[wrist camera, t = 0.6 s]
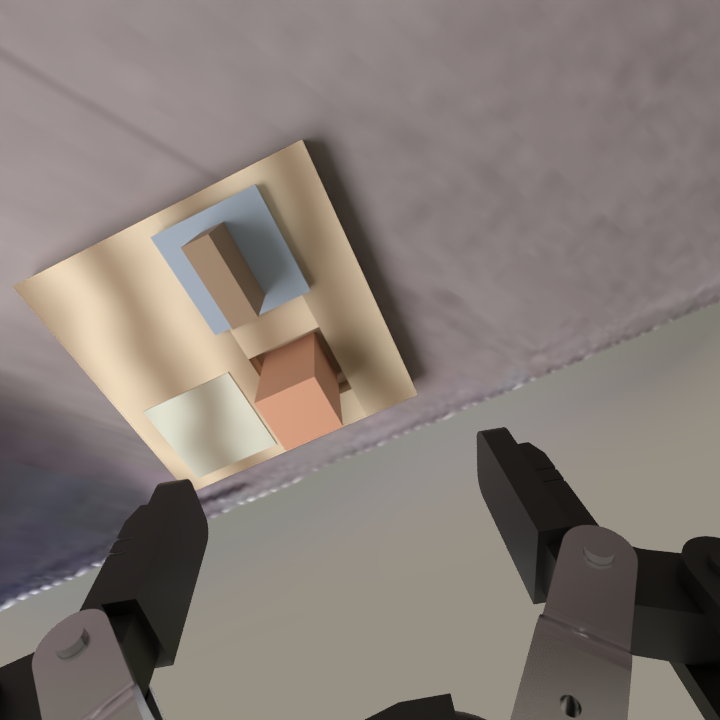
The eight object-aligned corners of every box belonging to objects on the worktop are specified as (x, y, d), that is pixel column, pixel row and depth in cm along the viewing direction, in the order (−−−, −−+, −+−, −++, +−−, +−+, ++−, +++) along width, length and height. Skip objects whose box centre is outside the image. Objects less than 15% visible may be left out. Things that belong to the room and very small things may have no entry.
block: (314, 331, 32) (314, 376, 26) (337, 375, 34) (343, 426, 28) (265, 354, 33) (254, 403, 26) (291, 395, 34) (286, 451, 28)
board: (302, 139, 27) (301, 139, 25) (412, 382, 35) (418, 395, 33) (31, 277, 29) (11, 287, 27) (194, 476, 37) (188, 494, 35)
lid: (256, 183, 26) (244, 191, 22) (310, 288, 29) (310, 312, 25) (153, 235, 26) (122, 252, 22) (216, 332, 29) (200, 363, 25)
